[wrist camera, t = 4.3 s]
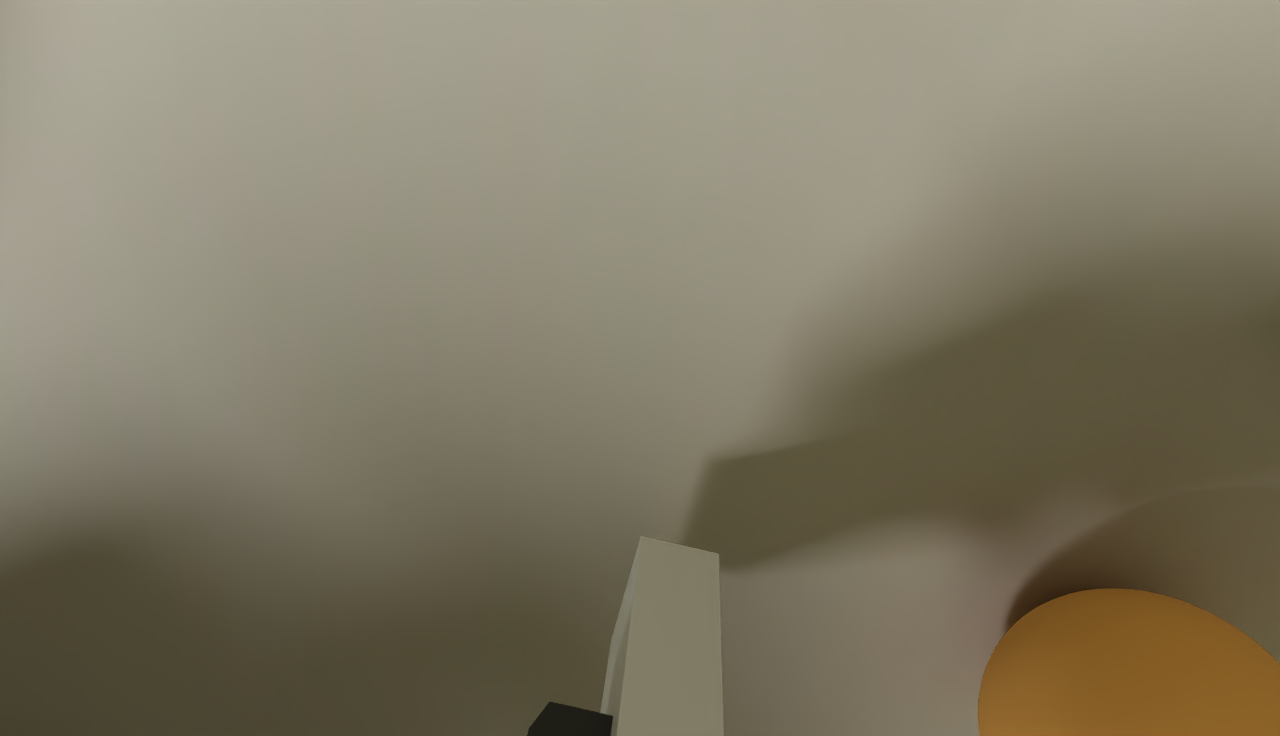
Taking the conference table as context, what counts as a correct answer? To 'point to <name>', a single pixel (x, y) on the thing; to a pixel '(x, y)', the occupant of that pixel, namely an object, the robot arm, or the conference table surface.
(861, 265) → the conference table surface
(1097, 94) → the conference table surface
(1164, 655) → the ball
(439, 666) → the conference table surface
